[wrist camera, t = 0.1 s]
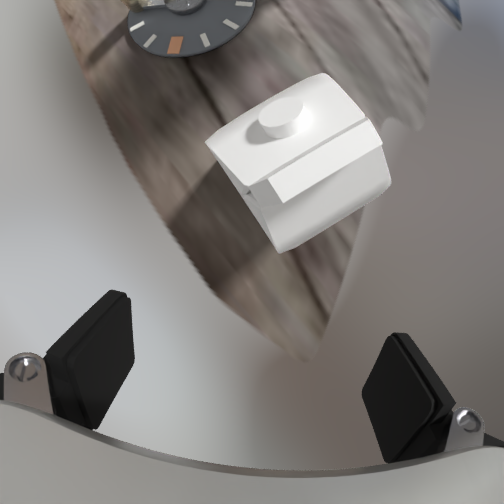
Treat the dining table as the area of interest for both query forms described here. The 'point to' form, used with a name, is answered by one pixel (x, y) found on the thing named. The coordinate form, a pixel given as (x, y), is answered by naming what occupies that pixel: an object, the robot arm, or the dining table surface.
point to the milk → (302, 160)
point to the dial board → (189, 28)
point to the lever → (166, 5)
